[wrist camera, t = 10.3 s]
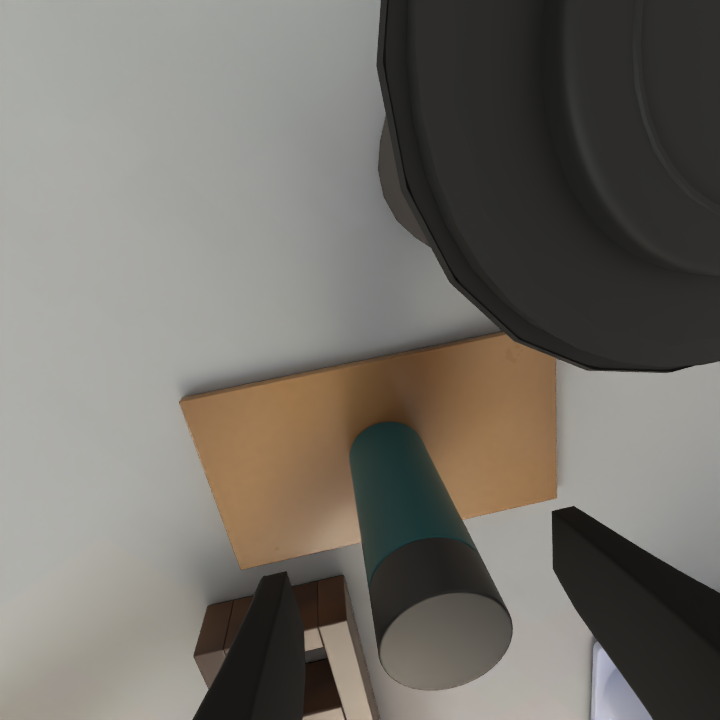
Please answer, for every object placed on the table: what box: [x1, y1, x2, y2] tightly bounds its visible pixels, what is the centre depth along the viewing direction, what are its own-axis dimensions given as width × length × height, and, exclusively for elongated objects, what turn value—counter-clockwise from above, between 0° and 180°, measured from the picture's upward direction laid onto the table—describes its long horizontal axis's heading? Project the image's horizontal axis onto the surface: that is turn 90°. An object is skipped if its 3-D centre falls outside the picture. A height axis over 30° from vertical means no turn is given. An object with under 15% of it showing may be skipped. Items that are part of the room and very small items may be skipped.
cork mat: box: [179, 332, 557, 570], centre depth 16 cm, size 14×8×1 cm, turn 100°
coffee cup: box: [377, 0, 720, 373], centre depth 8 cm, size 8×8×10 cm
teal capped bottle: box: [349, 422, 513, 690], centre depth 12 cm, size 3×3×8 cm
